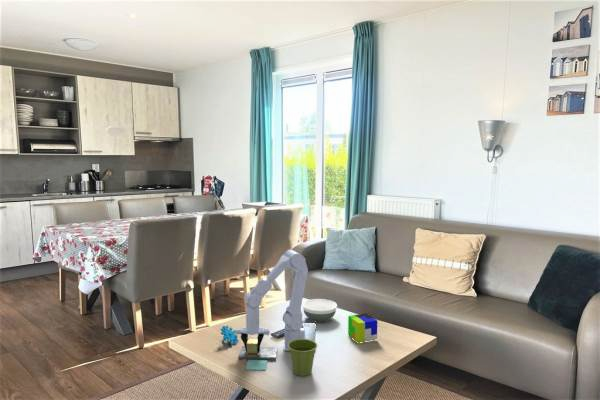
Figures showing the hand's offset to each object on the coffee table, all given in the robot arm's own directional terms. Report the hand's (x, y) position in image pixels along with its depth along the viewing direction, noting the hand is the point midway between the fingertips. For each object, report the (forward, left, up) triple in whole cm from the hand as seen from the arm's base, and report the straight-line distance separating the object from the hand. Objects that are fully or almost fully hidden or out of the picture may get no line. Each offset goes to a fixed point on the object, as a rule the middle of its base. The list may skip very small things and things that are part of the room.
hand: (252, 350), depth 181 cm
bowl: (-30, -42, -2) cm, 52 cm away
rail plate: (-3, 0, -2) cm, 3 cm away
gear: (+12, -12, -2) cm, 17 cm away
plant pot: (-22, +14, -2) cm, 26 cm away
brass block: (0, 0, -2) cm, 2 cm away
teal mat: (-3, +9, -2) cm, 10 cm away
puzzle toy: (-50, -19, -2) cm, 54 cm away
